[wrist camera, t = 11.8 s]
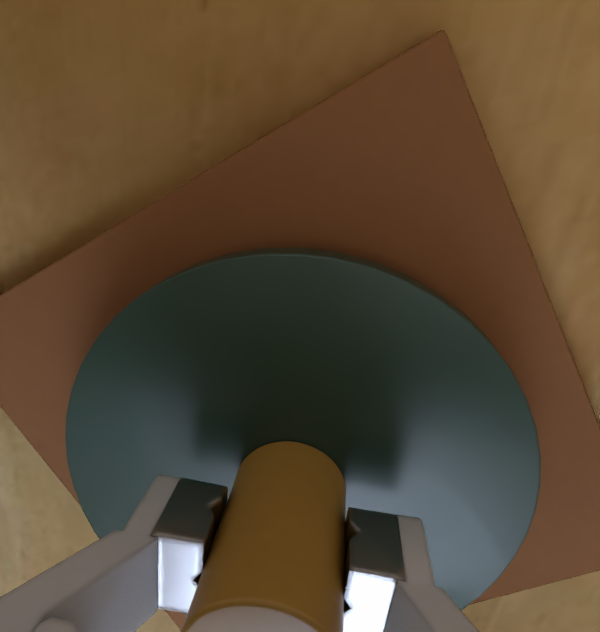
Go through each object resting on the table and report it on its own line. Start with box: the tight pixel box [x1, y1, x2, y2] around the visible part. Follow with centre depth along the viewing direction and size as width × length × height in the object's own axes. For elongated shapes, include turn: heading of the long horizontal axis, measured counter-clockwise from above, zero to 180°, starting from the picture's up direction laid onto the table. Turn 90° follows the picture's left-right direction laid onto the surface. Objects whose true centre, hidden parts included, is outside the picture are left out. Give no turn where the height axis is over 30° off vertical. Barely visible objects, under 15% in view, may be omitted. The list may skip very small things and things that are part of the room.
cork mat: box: [0, 30, 600, 631], centre depth 12 cm, size 14×14×1 cm
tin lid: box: [65, 247, 541, 632], centre depth 10 cm, size 11×11×5 cm
